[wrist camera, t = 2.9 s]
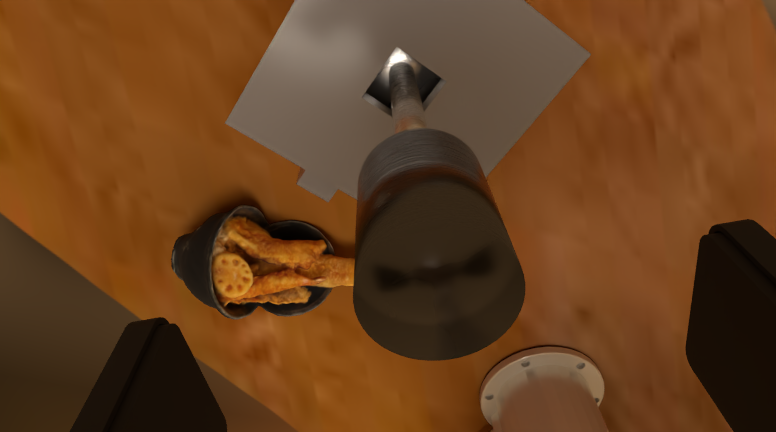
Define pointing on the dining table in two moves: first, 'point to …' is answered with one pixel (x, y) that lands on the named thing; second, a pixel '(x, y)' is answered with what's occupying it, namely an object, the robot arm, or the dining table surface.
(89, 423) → the robot arm
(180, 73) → the dining table surface
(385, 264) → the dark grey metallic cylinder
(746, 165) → the dining table surface
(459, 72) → the white grey-topped cylinder
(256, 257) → the fried shrimp in bowl
